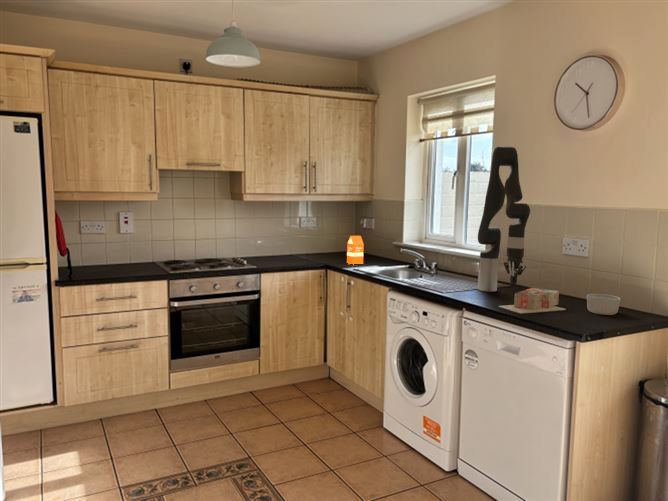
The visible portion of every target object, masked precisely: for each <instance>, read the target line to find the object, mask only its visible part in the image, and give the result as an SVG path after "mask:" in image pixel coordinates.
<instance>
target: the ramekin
mask: <svg viewBox="0 0 668 501" xmlns="http://www.w3.org/2000/svg"><path fill="white" fill-rule="evenodd" d="M621 299H622V298H621V297H619V296H615V295H612V294H611V295H610V294H605V293H588V294H586V304H587V307H586V308H587V310H588V311H589V312H590V313H593V314H598V315H604V316H605V315H606V316H607V315H608V316H613V315H616V314H617V313H618V311H619V309H620V308H619V307H620V304H621V303H620V302H622V300H621Z"/></svg>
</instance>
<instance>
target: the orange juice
mask: <svg viewBox="0 0 668 501" xmlns="http://www.w3.org/2000/svg"><path fill="white" fill-rule="evenodd" d="M364 245H365V244H364V241H363V238H362V236H361V235H349V239H348V241H347V245H346V246H347V248H346V264H347V263H348V264H347V265H350V264H353V265H352V266H355V265H354V264H363V265H364Z"/></svg>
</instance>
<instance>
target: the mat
mask: <svg viewBox="0 0 668 501" xmlns="http://www.w3.org/2000/svg"><path fill="white" fill-rule="evenodd" d="M498 308H501V309H504V310H508V311H511V312H514V313H517V314H532V313H545V312H546V313H547V312H557V311H566V310H567V309H566V308H564V307H559V306H558V305H555V306H552V307H550V308H544V307H541V308H539V309H536V310H530V309H525V308H520V307H514V304H508V305H498Z"/></svg>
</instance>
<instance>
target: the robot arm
mask: <svg viewBox="0 0 668 501" xmlns="http://www.w3.org/2000/svg"><path fill="white" fill-rule="evenodd" d="M490 160H491V162H490V171H489V178H488V179H489V180H488V185H487V189H486V193H485V194H486V195H485V200H484V206H483V210H482V211H483V213H482V216H481V220H480V223H479V224H480V225H479V227H478V233H477V241H478V244H480V245H483V246H484V245H485V246H486V245H490V246H489V247H488V248H486V249H485V250H482V251H481V252H480V253H479V268H478V269H479V270H478V271H477V272H478V273H477V290H479V291H481V292H489V293H490V292H491V293H492V292H497V291H498V290H497V289H498V271H499V255H500V251H501V250H500V248H501V242H502V241H501V238H502V230H501V229H500V228H499V227H498V226H490V224H491V222H492V220H493V219H494V217H495V216H496V215H497V214H498V213H499V212H500V211H501V209H502V208H503V207H504V204H505V200H506V205H505V215H506V217H507V218H508V219H512V220H514V219H516V220H517V219H518V221H517V222H516V223H515V222H514V223H512V224H510V225H509V226H508V233H507V234H508V236H507V241H506V244H507V245H506V257H507V261H504V262H503V266H504V268H505V271H506V273H507V275H508V274H509V276H510V278H509V279H510V280H509V282H510V284H511V285H517V283H518V281H517V280H518V276H521V275H522V274H523V273H524V271H525V270H526V268H527V266H526V265H524V263H523V258H524V257H525V232H526V226H527V224H528V220H529V217H530V214H531V207H530V205H529V204H527V203H523V202H522V203H519V202H521V201H522V199H523V193H522V188H521V184H520V175H519V174H520V172H519V156H518V150H517V148H515V146H496V147H494V148H493V150H492V153H491V159H490ZM500 167H509V169H510V171H509V174H508V176H507V177H506V180H505V182H504V183H503V181H502V179H501V177H500V176H501V175H500Z"/></svg>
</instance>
